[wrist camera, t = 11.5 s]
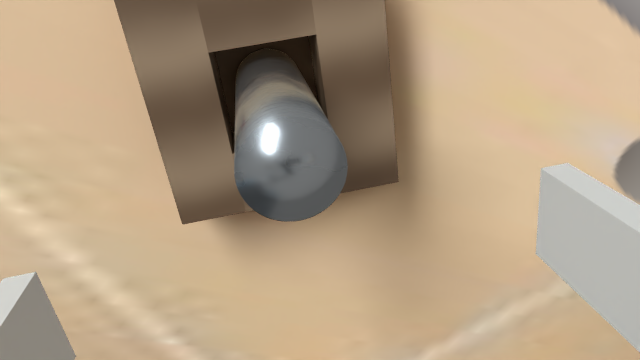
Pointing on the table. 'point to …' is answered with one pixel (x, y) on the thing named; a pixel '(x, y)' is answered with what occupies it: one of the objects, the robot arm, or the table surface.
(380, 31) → the socket
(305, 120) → the peg
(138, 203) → the table surface
